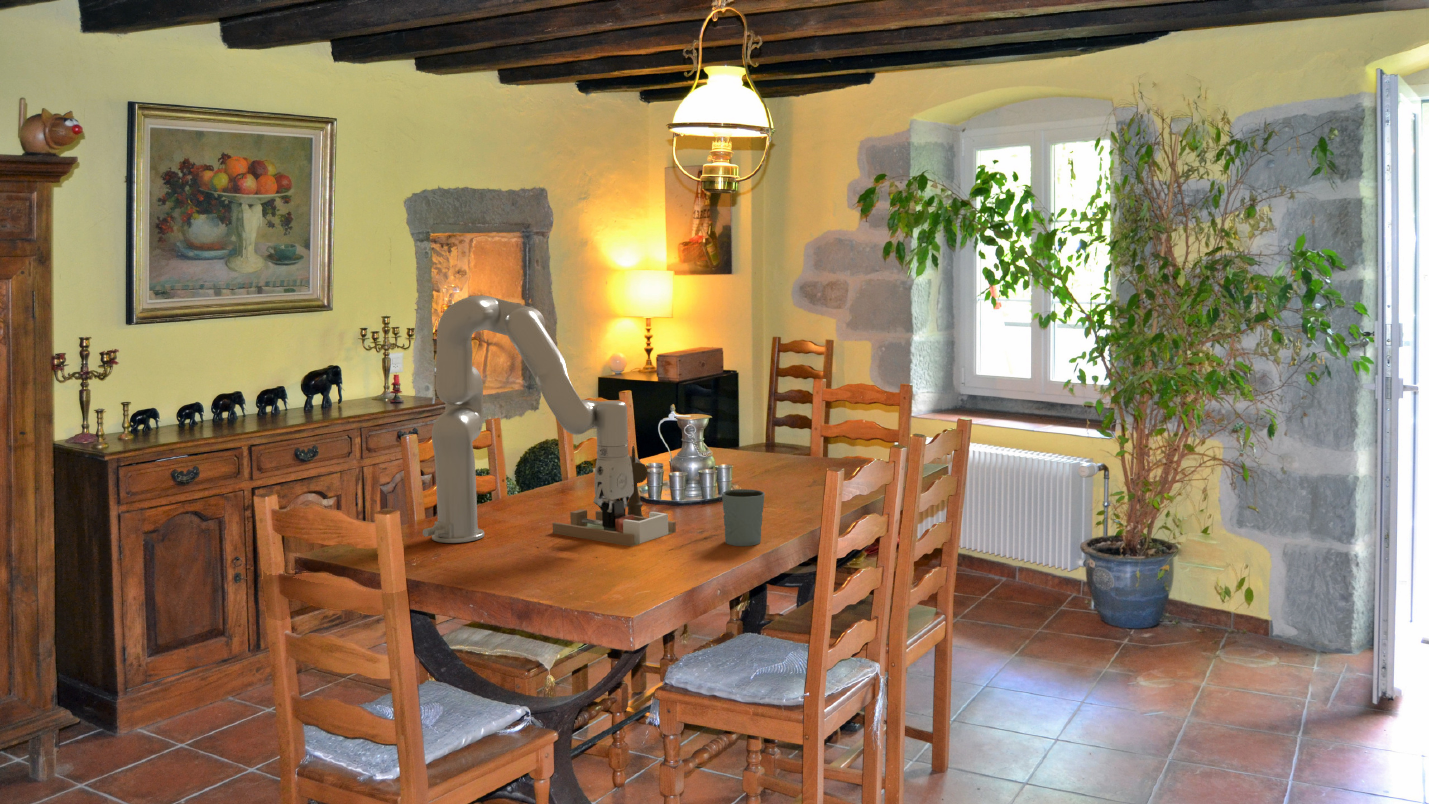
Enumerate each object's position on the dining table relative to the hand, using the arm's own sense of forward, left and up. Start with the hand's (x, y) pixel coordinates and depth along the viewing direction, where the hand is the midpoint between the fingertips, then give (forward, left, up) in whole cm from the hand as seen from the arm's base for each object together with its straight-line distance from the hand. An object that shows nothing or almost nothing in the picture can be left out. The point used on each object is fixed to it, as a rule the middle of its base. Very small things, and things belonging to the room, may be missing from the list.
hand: (614, 524), depth 281 cm
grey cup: (+13, -30, -3) cm, 32 cm away
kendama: (+16, +6, -3) cm, 18 cm away
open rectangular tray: (0, 0, -3) cm, 3 cm away
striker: (0, +3, -2) cm, 3 cm away
